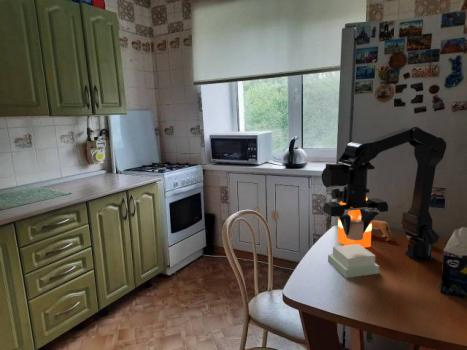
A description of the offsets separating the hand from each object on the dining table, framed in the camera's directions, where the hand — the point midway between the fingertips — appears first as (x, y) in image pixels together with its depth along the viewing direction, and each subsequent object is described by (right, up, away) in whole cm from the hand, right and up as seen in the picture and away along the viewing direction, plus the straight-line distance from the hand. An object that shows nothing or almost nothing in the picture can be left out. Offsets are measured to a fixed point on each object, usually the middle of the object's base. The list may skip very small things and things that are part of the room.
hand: (354, 233), depth 104 cm
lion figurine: (+17, -6, +26) cm, 32 cm away
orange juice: (+7, -7, +20) cm, 22 cm away
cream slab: (0, -8, +2) cm, 9 cm away
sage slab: (0, -11, +2) cm, 12 cm away
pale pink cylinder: (0, -1, 0) cm, 1 cm away
